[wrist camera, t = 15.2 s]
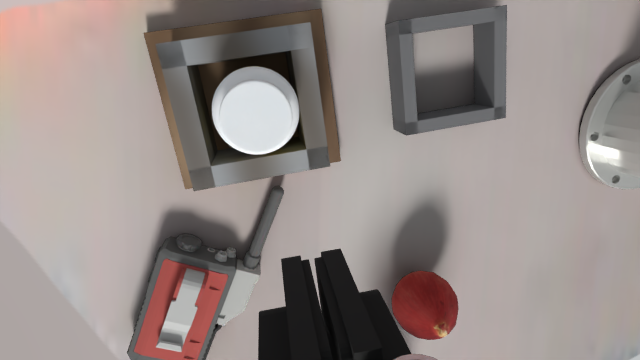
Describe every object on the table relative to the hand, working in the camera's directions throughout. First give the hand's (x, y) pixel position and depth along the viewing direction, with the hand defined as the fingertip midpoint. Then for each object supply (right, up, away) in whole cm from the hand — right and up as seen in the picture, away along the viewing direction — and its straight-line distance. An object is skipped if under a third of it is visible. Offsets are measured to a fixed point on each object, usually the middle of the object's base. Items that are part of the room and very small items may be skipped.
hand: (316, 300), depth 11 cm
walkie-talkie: (-10, -5, +25) cm, 27 cm away
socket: (-5, +10, +20) cm, 23 cm away
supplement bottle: (-5, +10, +20) cm, 22 cm away
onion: (+9, -7, +28) cm, 30 cm away
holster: (+10, +13, +22) cm, 27 cm away
